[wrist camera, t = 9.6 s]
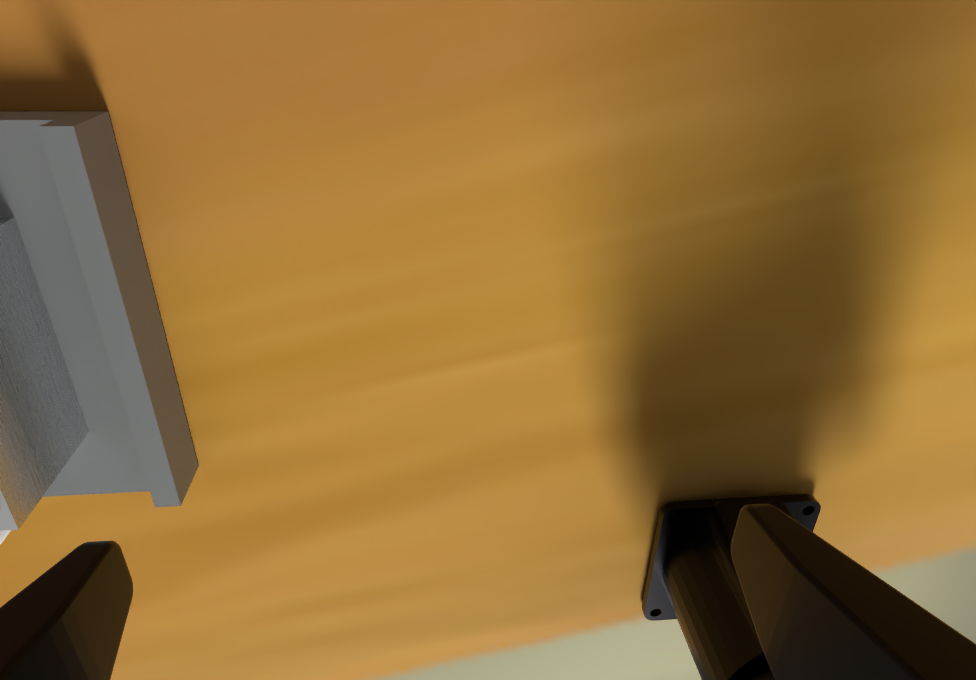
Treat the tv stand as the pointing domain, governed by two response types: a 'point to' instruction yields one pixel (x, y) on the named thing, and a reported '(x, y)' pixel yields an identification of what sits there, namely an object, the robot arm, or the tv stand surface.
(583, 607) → the tv stand surface
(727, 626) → the robot arm
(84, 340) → the tray
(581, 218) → the tv stand surface
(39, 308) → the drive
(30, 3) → the tv stand surface
